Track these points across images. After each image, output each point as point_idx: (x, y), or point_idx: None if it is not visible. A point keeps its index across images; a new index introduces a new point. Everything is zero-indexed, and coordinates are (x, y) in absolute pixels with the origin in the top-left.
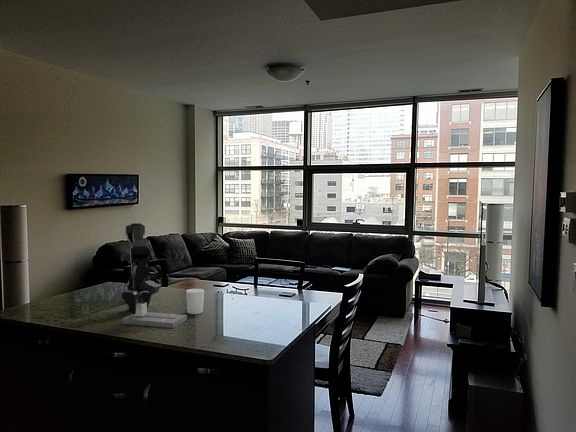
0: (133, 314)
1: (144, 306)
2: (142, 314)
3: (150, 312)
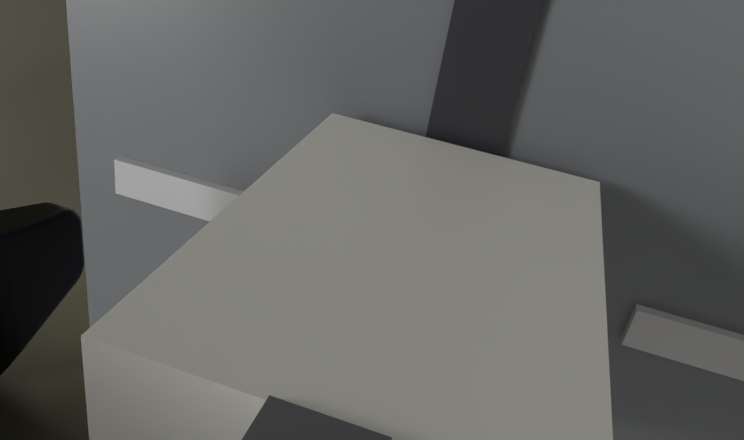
0: None
1: (387, 313)
2: (581, 205)
3: (91, 85)
